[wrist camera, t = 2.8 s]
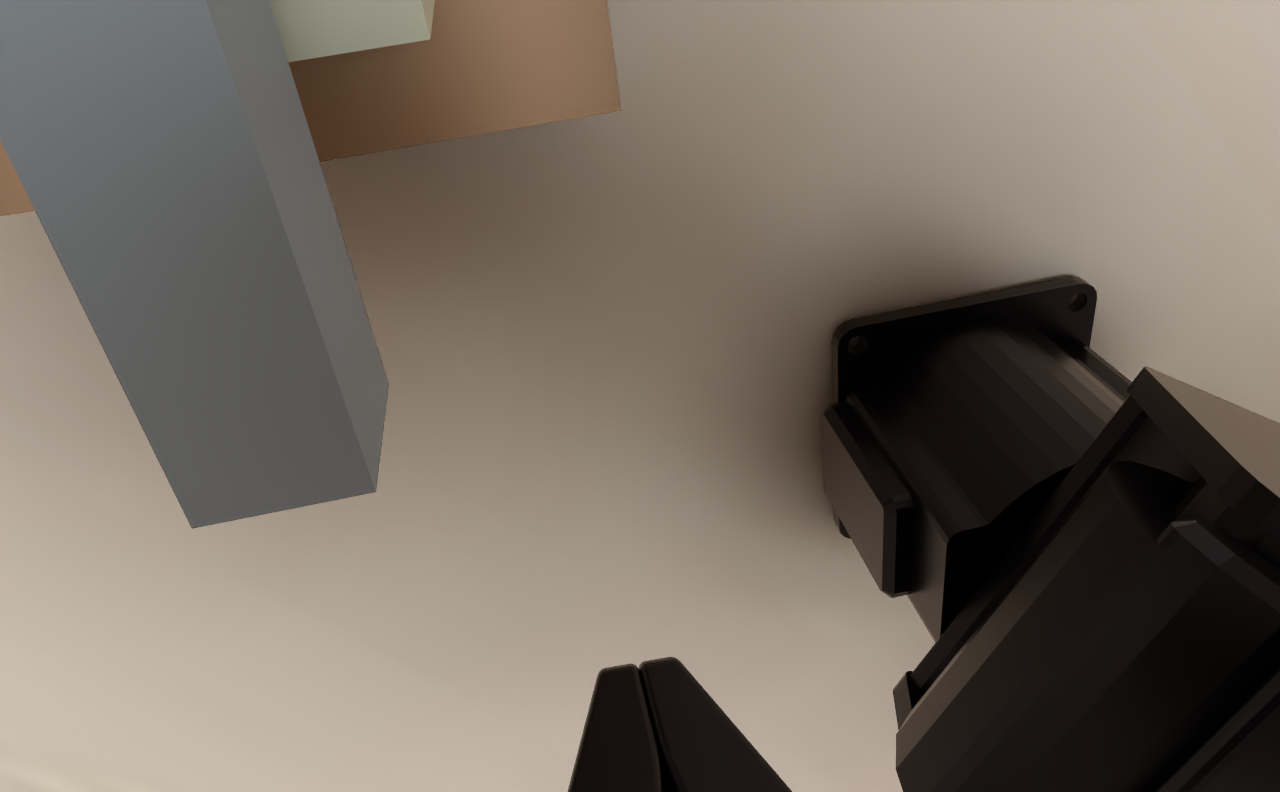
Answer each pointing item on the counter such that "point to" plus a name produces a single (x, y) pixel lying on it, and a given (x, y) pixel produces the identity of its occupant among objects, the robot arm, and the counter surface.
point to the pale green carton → (349, 25)
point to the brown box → (447, 81)
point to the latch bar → (199, 242)
